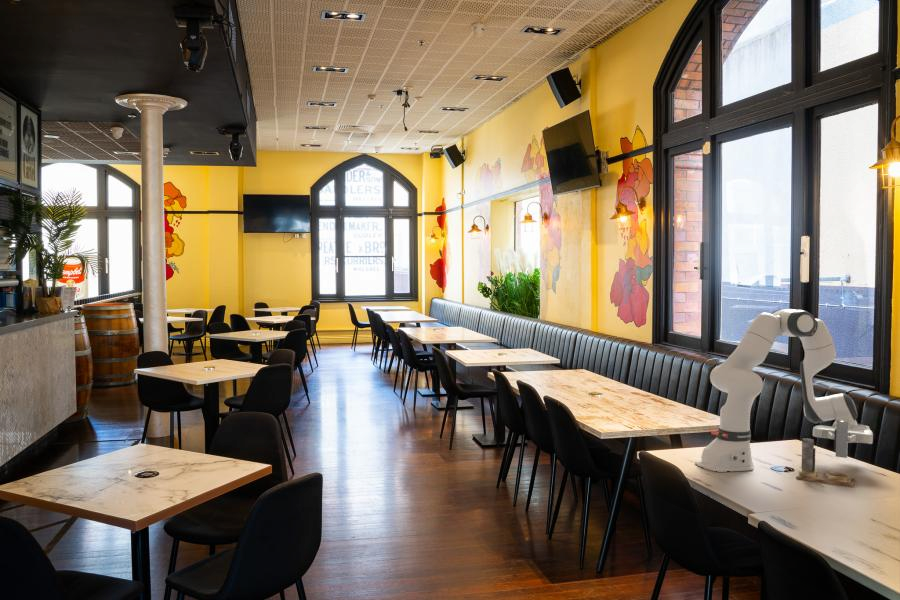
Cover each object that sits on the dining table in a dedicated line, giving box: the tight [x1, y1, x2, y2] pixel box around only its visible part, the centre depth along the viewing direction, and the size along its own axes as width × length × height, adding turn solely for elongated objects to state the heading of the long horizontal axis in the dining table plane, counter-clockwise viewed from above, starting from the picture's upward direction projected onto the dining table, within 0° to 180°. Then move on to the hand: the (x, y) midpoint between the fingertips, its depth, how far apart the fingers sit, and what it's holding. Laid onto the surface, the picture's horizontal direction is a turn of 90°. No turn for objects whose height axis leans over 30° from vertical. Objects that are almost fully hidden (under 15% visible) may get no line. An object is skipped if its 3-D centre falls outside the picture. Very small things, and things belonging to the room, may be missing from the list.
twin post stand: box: [795, 438, 856, 488], centre depth 260 cm, size 18×9×14 cm, turn 57°
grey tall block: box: [833, 420, 849, 459], centre depth 266 cm, size 4×3×14 cm
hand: (840, 438), depth 265 cm, fingers closed on grey tall block, 4 cm apart
